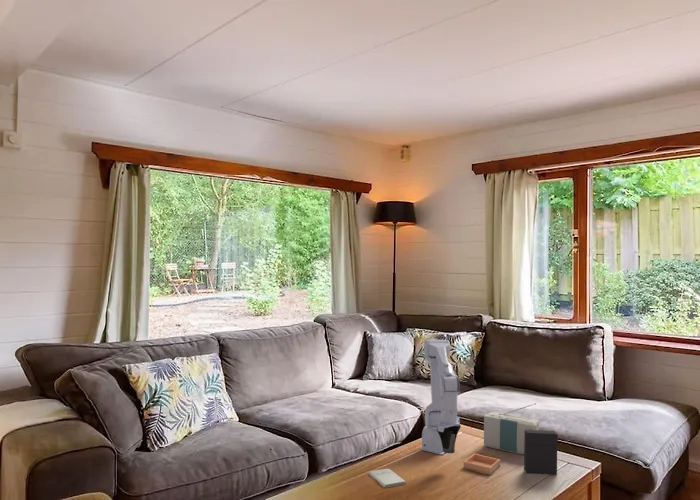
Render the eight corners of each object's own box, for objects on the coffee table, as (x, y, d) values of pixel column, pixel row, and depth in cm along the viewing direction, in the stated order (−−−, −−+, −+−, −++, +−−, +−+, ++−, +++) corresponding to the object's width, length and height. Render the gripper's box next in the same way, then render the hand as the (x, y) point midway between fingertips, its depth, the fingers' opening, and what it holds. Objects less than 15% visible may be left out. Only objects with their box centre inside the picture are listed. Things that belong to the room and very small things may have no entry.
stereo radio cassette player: (482, 447, 224) (483, 398, 224) (490, 442, 231) (490, 394, 231) (534, 459, 212) (535, 407, 212) (540, 453, 219) (541, 403, 219)
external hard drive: (384, 489, 184) (368, 475, 196) (406, 485, 188) (389, 472, 199) (384, 484, 184) (368, 471, 196) (406, 481, 188) (389, 467, 199)
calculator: (554, 471, 200) (554, 430, 200) (557, 476, 196) (558, 434, 196) (523, 469, 202) (524, 428, 202) (526, 474, 197) (526, 432, 197)
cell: (440, 451, 200) (440, 432, 200) (445, 448, 203) (445, 428, 203) (451, 454, 197) (451, 434, 197) (456, 450, 201) (456, 431, 201)
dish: (463, 468, 202) (463, 461, 202) (474, 460, 210) (474, 453, 210) (490, 475, 196) (490, 468, 196) (500, 466, 204) (500, 459, 204)
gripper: (450, 415, 192) (450, 454, 192) (467, 406, 204) (466, 443, 204) (432, 412, 196) (432, 450, 196) (450, 403, 208) (449, 439, 208)
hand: (448, 446), depth 200 cm, fingers closed on cell, 4 cm apart
